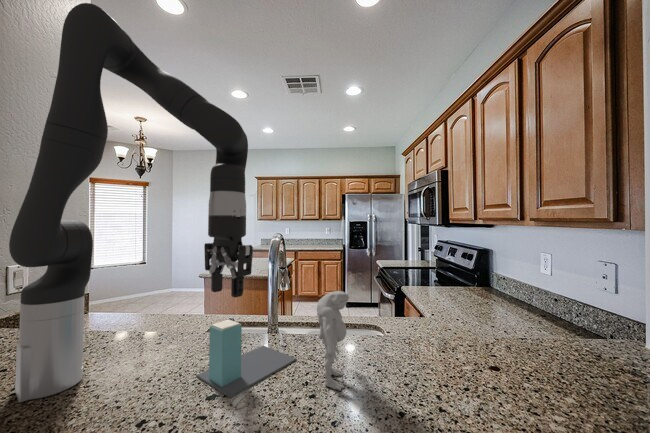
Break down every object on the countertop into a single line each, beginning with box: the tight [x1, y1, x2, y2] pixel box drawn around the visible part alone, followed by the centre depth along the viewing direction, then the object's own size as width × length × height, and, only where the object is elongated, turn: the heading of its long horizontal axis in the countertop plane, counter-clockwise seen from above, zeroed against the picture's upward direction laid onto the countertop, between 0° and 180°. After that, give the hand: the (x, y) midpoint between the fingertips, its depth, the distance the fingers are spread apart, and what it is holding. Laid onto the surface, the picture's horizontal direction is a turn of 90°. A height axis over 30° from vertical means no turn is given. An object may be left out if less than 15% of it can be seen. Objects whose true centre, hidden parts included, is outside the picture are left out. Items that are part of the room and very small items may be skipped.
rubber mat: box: [196, 345, 298, 399], centre depth 62 cm, size 18×12×1 cm, turn 143°
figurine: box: [316, 290, 350, 392], centre depth 57 cm, size 18×7×18 cm, turn 1°
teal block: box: [208, 319, 243, 387], centre depth 57 cm, size 4×4×11 cm
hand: (226, 293), depth 58 cm, fingers open, 6 cm apart
